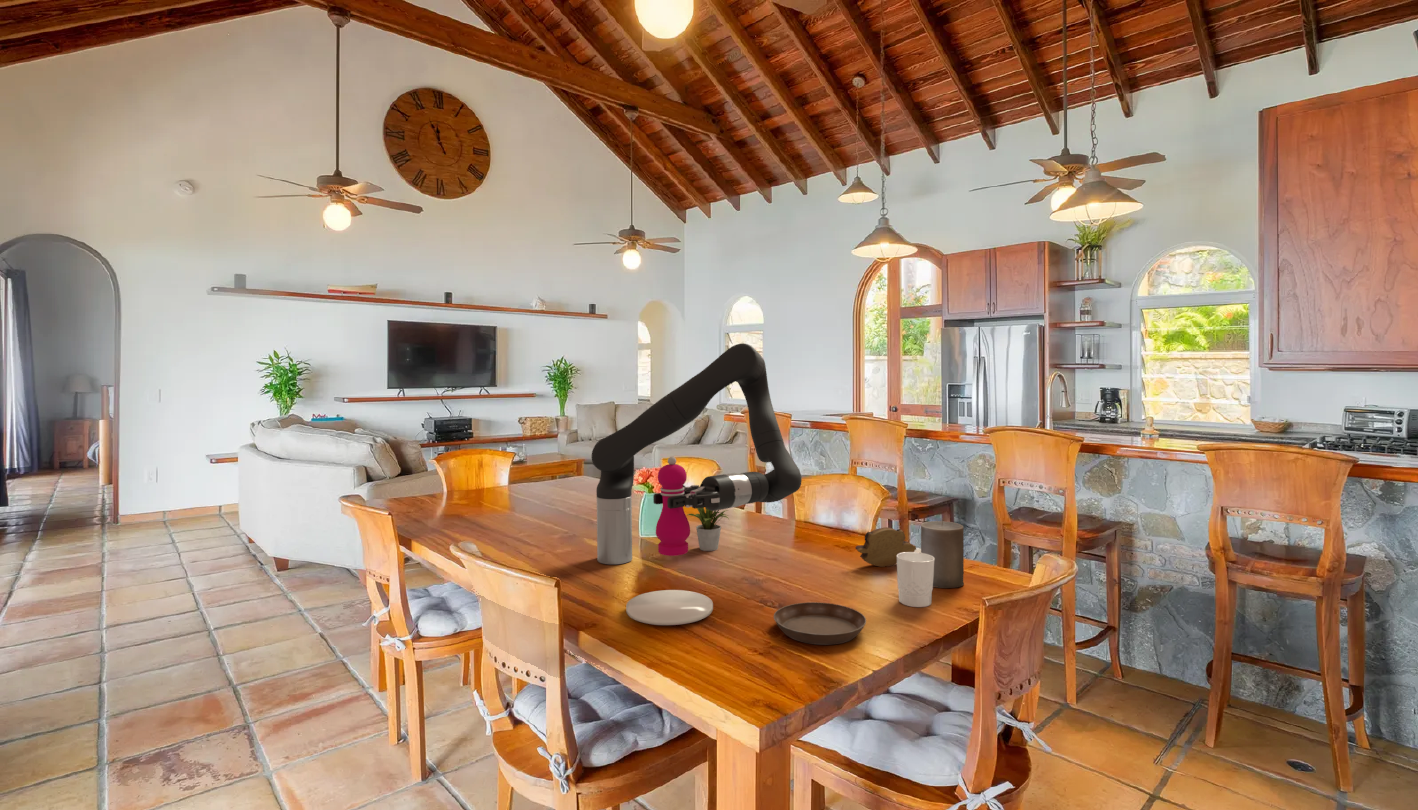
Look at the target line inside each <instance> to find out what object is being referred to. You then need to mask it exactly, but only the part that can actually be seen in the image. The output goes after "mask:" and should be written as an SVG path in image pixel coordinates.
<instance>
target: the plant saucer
mask: <svg viewBox="0 0 1418 810" xmlns="http://www.w3.org/2000/svg"><path fill="white" fill-rule="evenodd" d="M773 620H774V622H775V623H776V625H777V626H778V628H779V629H780V630H781V631H782V632H783V634H785V635H786V636H787V637H789V639H790V638H791V639H793V640H794V641H797V642H801V643H804V644H810V645H819V646H829V645H831V646H832V645H839V644H844V643H848V642H850V641H852V640H853V639H855V638H856V637H857V636H858V635H859V634H860V633H861V631H862V630H863V629H864V628H865V625H866V623H867V618H866V617H865V614H863V613H861V612H860V611H858V610H856V609H854V608H851V607H847V606H846V605H841V604H835V603H829V602H812V601H811V602H799V603H793V604H788V605H785V606H783V607H780V608H779V609H777V610H775V612H774V614H773Z"/></svg>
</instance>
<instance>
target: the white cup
mask: <svg viewBox="0 0 1418 810" xmlns="http://www.w3.org/2000/svg"><path fill="white" fill-rule="evenodd" d="M934 560H935V558H934V557H933V556H931V555H929V554H925V553H921V552H919V551H918V552H916V551H914V552H903V553H899V554H897V563H896V575H897V579H896V580H897V590H898V601H899V603H901V604H902V605H904V606H907V607H913V608H926V607H929V606H931V605H932V597H933V596H932V595H933V594H932V592H933V589H934V587H933V578H934Z"/></svg>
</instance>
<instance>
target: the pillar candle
mask: <svg viewBox="0 0 1418 810" xmlns="http://www.w3.org/2000/svg"><path fill="white" fill-rule="evenodd" d="M964 533H965V532H964V525H963V524H960V523H957V522H953V521H945V520H944V519H942V520H940V521H939V520H933V521H925V522H922V523H921V524H920V553H925V554H929V555H931V556H933V557H934V558H935V560H934V578H933V588H939V589H953V588H954V589H955V588H961V587H962V586H964V584H965V582H964V574H965V573H964V563H965V562H964V558H965V557H964V555H965V554H964V546H965V545H964V538H965V537H964V535H965V534H964Z"/></svg>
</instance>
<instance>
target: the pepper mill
mask: <svg viewBox="0 0 1418 810" xmlns="http://www.w3.org/2000/svg"><path fill="white" fill-rule="evenodd" d="M676 463H677V459H676V457H675V456H669V457H668V459H667V464H665V465H662V466H661V468H660V469H659V470H658V473H657V482H658V483H659V484H660V486H661V487H660V489H659V490H660V492H659V493H660V494H661V495H662V497H663V504H662V508H661V512H660V516H659V518H658V519H657V522H656V525H655V535H656V537H657V538H658V540H659V541H660V542H659V543H658V544H657V546H658V547H657V550H658V554H659V555H663V556H666V557H667V556H669V557H671V556H673V557H676V556H683V555H685V554H687V553H688V552H689V542H687V541H686V540H687V539H688V538H689V537H690V535H691V527H690V526H691V525H690V522H689V520H688V517H687V514H686V513H685V509H684V507H678V508H672V509H671V508H668V505H667V499H668V498H669V497H675V496H682V495H684V487H683V485H684V484H685V483H686V482H687V480H688V479H687V478H688V477H687V472H686V469H685V468H684V467H683V466H682V465H679V464H676Z"/></svg>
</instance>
